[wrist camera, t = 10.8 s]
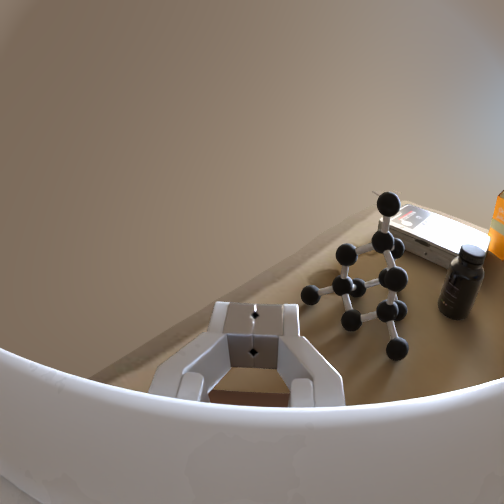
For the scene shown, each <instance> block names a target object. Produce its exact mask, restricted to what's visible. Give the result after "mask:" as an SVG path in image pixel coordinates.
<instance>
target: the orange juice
mask: <svg viewBox="0 0 504 504" xmlns="http://www.w3.org/2000/svg"><path fill="white" fill-rule="evenodd" d="M488 236H490V237H491V241H490V245H489V249H488V250H489V251H490V252H492V253H493V254H494V255H496V256H497V257H498V258H499V259H501V260H502V261H504V190H503V191H502V192H501V193H500V194H499V195H498V197H497V201H496V206H495V210H494V214H493V218H492V222H491V225H490V230H489V233H488Z"/></svg>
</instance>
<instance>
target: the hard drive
mask: <svg viewBox="0 0 504 504" xmlns="http://www.w3.org/2000/svg"><path fill="white" fill-rule="evenodd" d="M382 222H383V217H382V218H380V219H379V225H378V231H379V230H381V228H382ZM389 232H390V233H391V234H392V236H393V238H398V239H400V240H401V241H402V242H403V244H404V249H405V250H407V251H409V252H412V253H414V254H416V255H418V256H420V257H423V258H425V259H427V260H429V261H431V262H433V263H436V264H438V265H440V266H442V267H444V268H446V269H448V268H449V265H450V263H451V261H452V260H453V259H454V258H456V257H458V253H459V250H460V247H461V245H462V244H463V243H471V244H475V245H477V246H479V247H480V248H482V249H483V250H484V251H485V253H486V255H487V252H488V249H489V245H490V241H491V237H490V236H488V235H486V234H484V233H481V232H479V231H477V230H474V229H472V228H470V227H467V226H465V225H463V224H460V223H458V222H455V221H453V220H450V219H448V218H445V217H443V216H440V215H438V214H435V213H432V212H430V211H427V210H424V209H422V208H419V207H416V206H413V205H410V204H406V205H404V206H402V207H400V210H399V212H398V213H397V214H396V215H395V216H392V217H391V219H390V225H389ZM485 257H486V256H485Z"/></svg>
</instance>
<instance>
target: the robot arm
mask: <svg viewBox="0 0 504 504" xmlns="http://www.w3.org/2000/svg"><path fill="white" fill-rule="evenodd" d="M231 367H242V368H263V369H277V371H278V373H279V374H280V376H281V377H282V379H283V380H284V382H285V383H286V385H287V387H288V388H289V390H290V395H289V401H288V408H280V407H254V406H238V405H226V404H215V403H210V400H209V396H208V393H209V392H210V391H211V390H212V389H213V387H214V386H215V385H216V384H217V383H218V382H219V381H220V380H221V379H222V378H223V377H224V375H225V374H226V373H227V372H228V371H229V370H230V369H231ZM0 504H504V378H501V379H498V380H495V381H491V382H488V383H484V384H480V385H477V386H473V387H469V388H465V389H461V390H456V391H452V392H447V393H442V394H437V395H432V396H427V397H421V398H415V399H408V400H402V401H394V402H386V403H377V404H367V405H355V406H346V404H345V396H344V389H343V381H342V377H341V375H340V374H339V373H338V372H337V371H336V370H335V369H334V368H333V367H332V366H331V365H330V364H329V363H328V362H327V361H326V360H325V359H324V357H323V356H322V355H321V354H320V353H319V352H318V351H317V350H316V349H315V348H314V347H313V346H312V345H311V344H310V343H309V341H308V340H307V339H306V338H305V337H304V336H300V333H299V314H298V305H297V304H284V305H283V304H251V303H234V302H230V303H229V302H216V303H215V304H214V308H213V311H212V315H211V318H210V322H209V326H208V329H207V332H202V333H201V334H200V335H198V336H197V337H196V338H194V339H193V340H192V341H191V342H189V343H188V344H187V345H185V346H184V347H183V348H182V349H180V350H179V351H178V352H176V353H175V354H174V355H172V356H171V357H170V358H168V359H167V360H166V361H164V362H163V363H162V364H160V365H159V366H158V367H157V370H156V372H155V375H154V378H153V380H152V383H151V386H150V389H149V391H148V393H143V392H138V391H133V390H128V389H124V388H119V387H115V386H111V385H107V384H103V383H99V382H95V381H92V380H88V379H84V378H81V377H77V376H74V375H71V374H67V373H65V372H61V371H58V370H55V369H52V368H49V367H46V366H44V365H41V364H38V363H35V362H33V361H30V360H28V359H25V358H22V357H20V356H17V355H15V354H13V353H10V352H8V351H6V350H3V349H1V348H0Z"/></svg>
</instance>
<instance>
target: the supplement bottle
mask: <svg viewBox="0 0 504 504" xmlns="http://www.w3.org/2000/svg"><path fill="white" fill-rule="evenodd" d="M485 256H486V253H485V251H484V250H483V249H482V248H480V247H479V246H477V245H475V244H471V243H463V244H462V245H461V247H460V250H459V253H458V257H456V258H454V259H453V260H452V261H451V263H450V265H449V268H448V272H447V275H446V278H445V281H444V284H443V287H442V290H441V293H440V296H439V299H438V308H439V310H440V311H441V313H442V314H443V315H445V316H446V317H448V318H450V319H453V320H463V319H465V318H466V317H467V316H468V315H469V313H470V311H471V309H472V307H473V304H474V302H475V299H476V297H477V294H478V292H479V289H480V287H481V284H482V282H483V279H484V269H483V267H482V266H483V264H484V259H485Z"/></svg>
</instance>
